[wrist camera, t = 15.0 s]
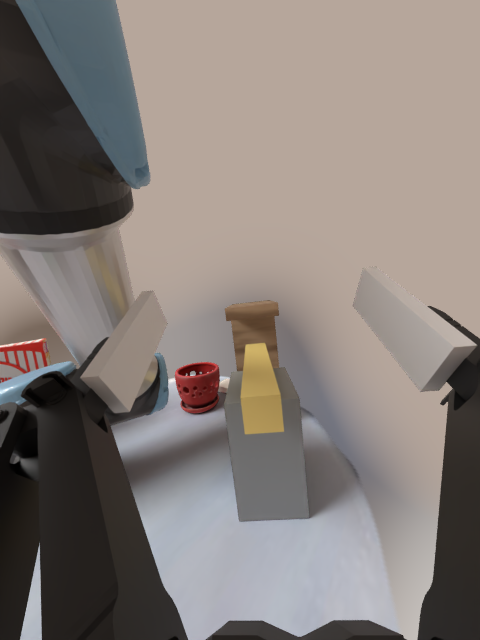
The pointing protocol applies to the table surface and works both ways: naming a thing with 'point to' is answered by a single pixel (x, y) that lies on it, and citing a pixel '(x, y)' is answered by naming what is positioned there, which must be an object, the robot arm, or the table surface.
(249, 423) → the number bar
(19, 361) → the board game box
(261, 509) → the gray rectangular block
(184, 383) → the plant pot
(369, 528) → the table surface
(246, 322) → the shelf stand
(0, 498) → the robot arm
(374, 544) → the table surface
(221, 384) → the digit tile cream
